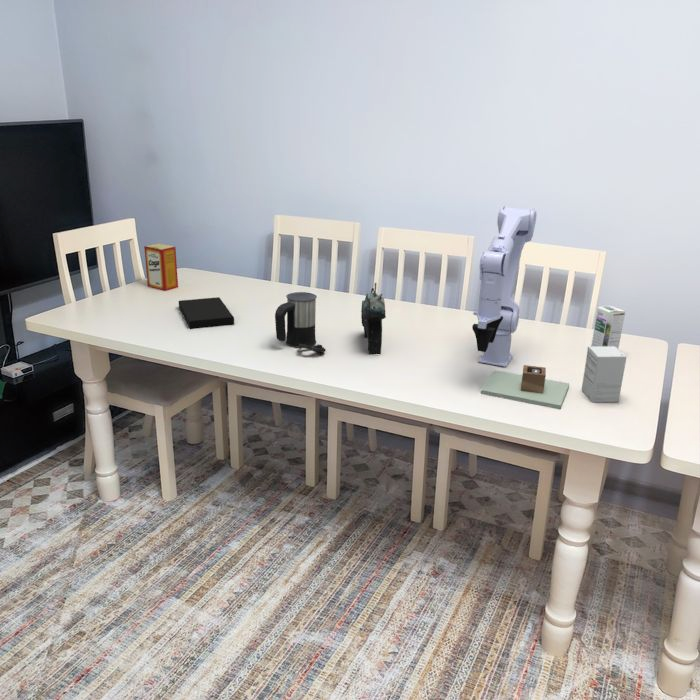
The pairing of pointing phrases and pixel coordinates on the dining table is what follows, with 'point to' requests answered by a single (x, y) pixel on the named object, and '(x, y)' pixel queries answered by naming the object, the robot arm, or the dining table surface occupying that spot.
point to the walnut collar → (533, 379)
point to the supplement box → (603, 374)
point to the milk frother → (298, 321)
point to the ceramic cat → (373, 320)
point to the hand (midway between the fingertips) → (485, 346)
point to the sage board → (511, 389)
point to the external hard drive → (205, 313)
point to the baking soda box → (161, 266)
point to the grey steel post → (535, 371)
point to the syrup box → (608, 327)
